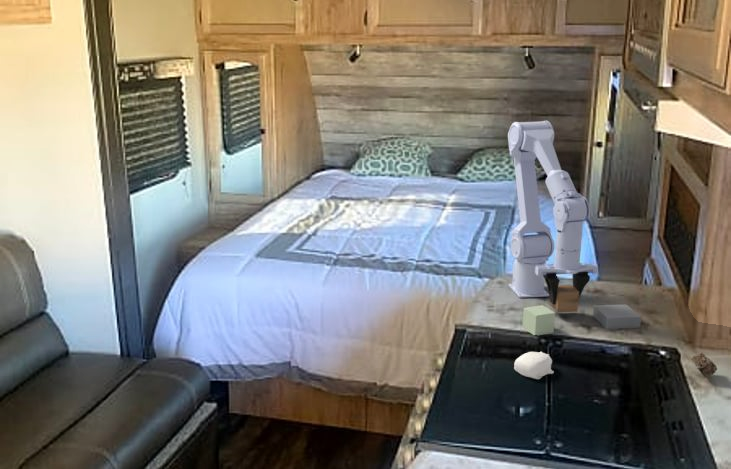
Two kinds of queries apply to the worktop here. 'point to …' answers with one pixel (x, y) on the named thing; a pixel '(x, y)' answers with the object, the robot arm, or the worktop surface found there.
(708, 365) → the rock
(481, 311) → the worktop surface
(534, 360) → the white frog figurine
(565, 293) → the walnut cube
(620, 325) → the slate tile
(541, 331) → the sage cube
